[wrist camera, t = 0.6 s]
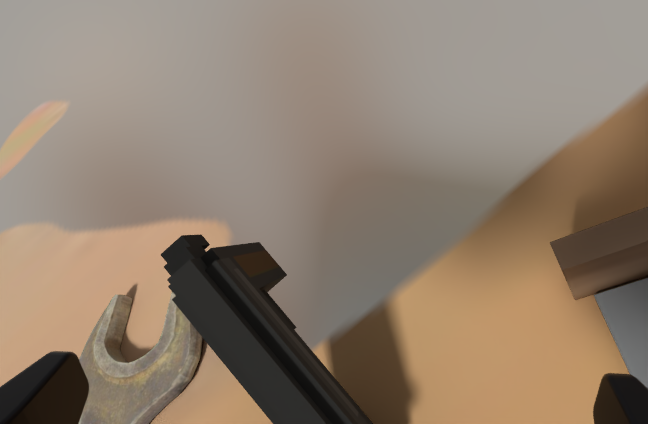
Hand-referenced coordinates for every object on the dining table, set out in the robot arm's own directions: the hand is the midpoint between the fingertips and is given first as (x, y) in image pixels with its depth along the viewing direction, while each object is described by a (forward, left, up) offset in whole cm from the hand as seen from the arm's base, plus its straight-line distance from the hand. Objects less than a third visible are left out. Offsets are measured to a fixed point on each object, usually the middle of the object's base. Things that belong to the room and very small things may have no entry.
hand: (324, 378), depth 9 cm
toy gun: (+7, +8, -15) cm, 18 cm away
